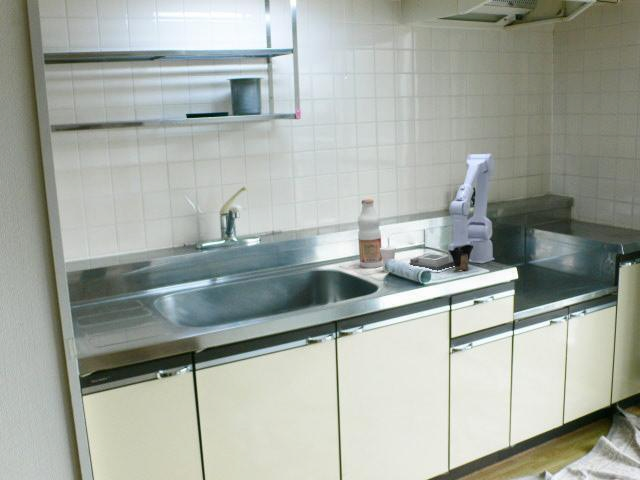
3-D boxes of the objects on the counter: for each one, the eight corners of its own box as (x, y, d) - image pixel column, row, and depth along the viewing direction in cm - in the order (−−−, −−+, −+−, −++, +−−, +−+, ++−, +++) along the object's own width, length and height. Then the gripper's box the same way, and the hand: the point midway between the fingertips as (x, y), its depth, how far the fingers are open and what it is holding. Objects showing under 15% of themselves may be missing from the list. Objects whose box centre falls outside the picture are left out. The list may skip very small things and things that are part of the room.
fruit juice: (355, 266, 291) (351, 201, 286) (372, 262, 296) (368, 198, 291) (369, 269, 283) (365, 202, 278) (387, 265, 288) (383, 199, 283)
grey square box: (430, 262, 288) (429, 251, 288) (458, 265, 278) (457, 254, 278) (409, 269, 279) (408, 258, 278) (437, 273, 269) (437, 261, 268)
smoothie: (391, 273, 273) (389, 239, 271) (378, 272, 277) (376, 238, 274) (399, 270, 278) (398, 236, 276) (386, 268, 282) (384, 235, 279)
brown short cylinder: (459, 267, 275) (459, 252, 274) (470, 268, 271) (470, 253, 270) (452, 270, 272) (452, 254, 270) (463, 271, 268) (462, 255, 267)
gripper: (458, 234, 261) (459, 269, 263) (479, 228, 271) (480, 262, 273) (443, 233, 266) (444, 267, 268) (464, 227, 276) (465, 260, 278)
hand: (461, 264), depth 271 cm, fingers closed on brown short cylinder, 5 cm apart
